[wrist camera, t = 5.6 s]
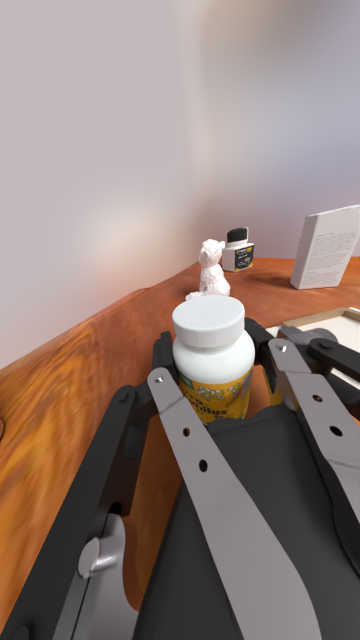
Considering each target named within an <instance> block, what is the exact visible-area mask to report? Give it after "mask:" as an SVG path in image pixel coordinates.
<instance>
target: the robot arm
mask: <svg viewBox="0 0 360 640" xmlns="http://www.w3.org/2000/svg"><path fill="white" fill-rule="evenodd" d="M244 330H245V331H246V332H247V333H248V334H249V336H250V337H251V339H252V341H253V344H254V348H255V358H254V365H255V366H257V365H260V364H261V365H262V366H263V374H264V377H265V381H266V384H267V388H268V391H269V394H270V399H271V406H270V407H266V408H264V409H262V410H261V411H259V412H258V413H256V414H255V415H254V416H252V417H251V418H249V419H236V418H223V419H220V420H216V421H212V422H208V423H207V426H208V429H206V428H205V427H204V425H203V424H202V422H201V420H200V419H199V417H198V416H197V414H196V412H195V411H194V409H193V408H192V406H191V405H190V403H189V401H188V400H187V398H186V397H185V396H183V394H182V393H181V391H180V390H179V388H178V386H177V385H180V381H179V374H178V371H177V369H176V366H175V363H174V359H173V355H172V347H173V341H172V338H171V334H170V331H166V332H162V333H161V339H159V340H156V341H155V343H154V347H153V350H154V351H153V365H152V372H151V373H150V374H149V376H148V379H147V380H146V381H145V382H143V383H142V384H140V385H138V386H136V387H135V388H134V387H133V386H131V385H126V386H123V387H121V388H120V389H119V390H118V391H117V392H116V393H115V394H114V396H113V397H112V400H111V402H110V404H109V406H108V408H107V410H106V412H105V414H104V417H103V419H102V421H101V423H100V425H99V427H98V429H97V431H96V434H95V436H94V438H93V440H92V442H91V444H90V446H89V448H88V451H87V453H86V455H85V457H84V459H83V461H82V463H81V465H80V467H79V470H78V472H77V474H76V476H75V478H74V480H73V482H72V484H71V487H70V489H69V491H68V493H67V495H66V497H65V499H64V501H63V504H62V506H61V508H60V510H59V512H58V514H57V516H56V518H55V521H54V523H53V525H52V527H51V529H50V531H49V533H48V535H47V537H46V540H45V542H44V544H43V546H42V548H41V550H40V552H39V554H38V557H37V559H36V561H35V563H34V565H33V567H32V569H31V571H30V574H29V576H28V578H27V580H26V582H25V584H24V586H23V588H22V591H21V593H20V595H19V597H18V599H17V601H16V603H15V605H14V608H13V610H12V612H11V614H10V616H9V618H8V620H7V622H6V624H5V627H4V629H3V631H2V633H1V635H0V640H360V428H359V427H358V425H357V424H356V422H355V421H354V419H353V418H352V417H351V415H352V416H353V417H355V418H356V419H357V420H359V421H360V390H359V389H358V388H356V387H354V386H353V385H351V384H349V383H348V382H346V381H344V380H343V379H341V378H340V377H338V376H336V375H335V374H333V373H331V371H332V370H333V368H335V369H337V370H338V371H340V372H342V373H343V374H345V375H347V376H349V377H350V378H352V379H354V380H356V381H357V382H359V383H360V353H359V352H357V351H355V350H352V349H350V348H348V347H346V346H344V345H341V344H339V343H337V342H335V341H332V340H329V339H325V338H313V339H311V340H310V342H309V344H308V345H294V344H293V343H291V342H290V341H288V340H285V339H280V338H275V337H274V336H273V335H272V334H270V333H269V332H268V331H267V330H265V329H264V328H263V327H262V326H261V325H259V324H258V323H257V322H256V321H254V320H253V319H250V318H248V317H247V318H245V317H244ZM157 413H160V414H159V415H160V418H161V421H162V424H163V426H164V429H165V431H166V434H167V437H168V439H169V442H170V444H171V447H172V449H173V452H174V455H175V457H176V460H177V462H178V465H179V467H180V470H181V473H182V475H183V476H182V479H181V482H180V485H179V488H178V491H177V494H176V498H175V501H174V504H173V507H172V510H171V513H170V516H169V519H168V522H167V526H166V529H165V532H164V535H163V538H162V541H161V544H160V547H159V551H158V554H157V557H156V560H155V563H154V566H153V569H152V572H151V575H150V579H149V582H148V585H147V588H146V591H145V594H143V592H142V591H141V588H140V586H139V583H138V579H137V574H136V549H137V530H136V526H135V523H134V521H133V519H132V518H131V517H130V516H129V515H130V510H131V506H132V501H133V496H134V491H135V487H136V482H137V477H138V473H139V468H140V463H141V458H142V454H143V449H144V444H145V440H146V435H147V430H148V426H149V421H150V418H151V417H153V416H154V415H156V414H157ZM350 414H351V415H350ZM3 427H4V424H3V421H2V420H0V437H1V435H2V432H3Z"/></svg>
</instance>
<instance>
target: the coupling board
mask: <svg viewBox="0 0 360 640" xmlns="http://www.w3.org/2000/svg"><path fill="white" fill-rule="evenodd" d="M290 326H294V327H296V328H297V329H299V330H301V331H302V332H303V331H307V330H311V329H315V328H324V329H327V330H329V331H330V332H332V333H333V334H334V335H335V336H336V337H337V339H338V342H339V344H341V345H344V346H346V347H348V348H350V349H352V350H355V351H357V352H359V353H360V310H358V309H355V308H347V307H342V308H338V309H334V310H330V311H326V312H322V313H318V314H314V315H310V316H306V317H302V318H298V319H294V320H290V321H286V322H282V325H280V326H276V327H272V328H268V329H265V330H267V331H268V332H269V333H270V334H272V335H273V336H274V337H275V338H276V336H277V332H278V329H282V328H286V327H290ZM331 373H333V374H335V375H336V376H338V377H340V378H341V379H343V380H344V381H346V382H348V383H349V384H351V385H353V386H354V387H356V388H358V389H359V390H360V383H359V382H357V381H356V380H354V379H352V378H350V377H349V376H347V375H345V374H343V373H342V372H340V371H338V370H337V369H335V368H333V370H332V371H331Z"/></svg>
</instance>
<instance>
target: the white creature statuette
mask: <svg viewBox="0 0 360 640" xmlns="http://www.w3.org/2000/svg"><path fill="white" fill-rule="evenodd" d="M202 245H203V247H202V249H201V250H200V255H199V260H198V262H199V263H200V264H201V268H202V272H201V278H200V280H201V281H200V288H199V290H200V291H199V292H194V293H190V294H189V295H187V296H186V301H187V300H190V299H192V298H196V297H200V296H206V295H223V296H229V294H230V293H229V291H230V286H229V284H228V283H227V281H226V280H225V278H224V276H223V274H224V273H223V271H222V268H221V266H220V265H219V264H217V263H218V261H219V260H220V258H221V255H222V249H224V247H225V242H224V241H222V242H220V243H218V241H215V240H211V239H209V240H207V241H205V242H203V244H202Z"/></svg>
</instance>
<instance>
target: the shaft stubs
mask: <svg viewBox="0 0 360 640" xmlns="http://www.w3.org/2000/svg"><path fill="white" fill-rule="evenodd" d="M276 338H280V339H285V340H288V341H290V342H291V343H293V344H294V345H308V344H309V342H310V340H311V339H313V338H325V339H329V340H332V341H335V342H337V343H339V342H338V339H337V337H336V336H335V335H334V334H333V333H332V332H330V331H329V330H327V329H324V328H315V329H311V330H307V331H303V332H302V331H301V330H299V329H297V328H296V327H294V326H290V327H286V328H282V329H278V332H277V336H276Z"/></svg>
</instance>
